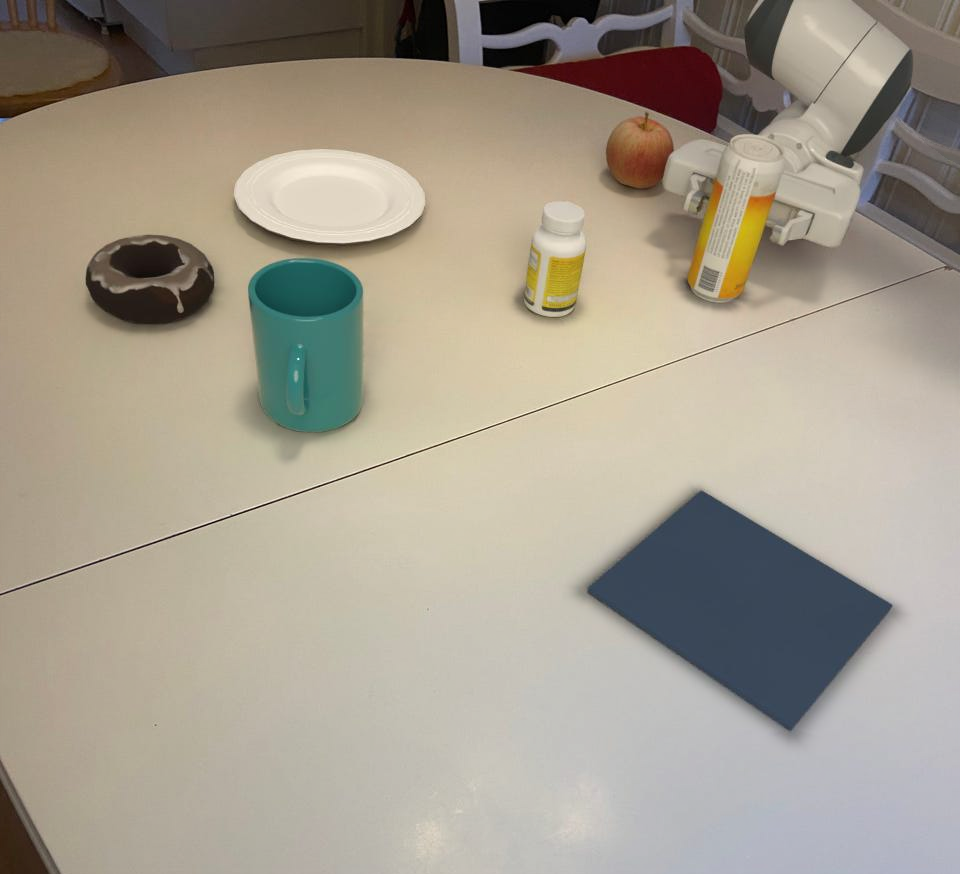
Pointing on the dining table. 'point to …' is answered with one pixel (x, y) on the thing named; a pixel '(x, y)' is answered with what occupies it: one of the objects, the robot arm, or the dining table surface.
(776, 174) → the beer can
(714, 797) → the dining table surface
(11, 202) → the dining table surface
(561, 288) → the supplement bottle
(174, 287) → the donut
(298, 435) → the dining table surface
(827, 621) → the can mat
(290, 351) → the cup
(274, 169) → the plate
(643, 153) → the apple
